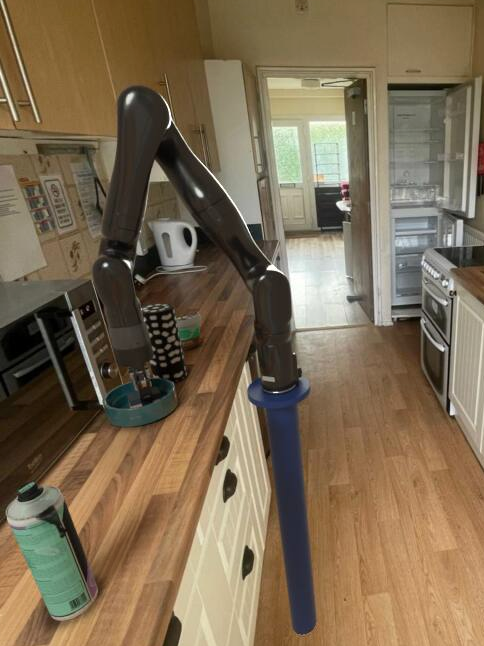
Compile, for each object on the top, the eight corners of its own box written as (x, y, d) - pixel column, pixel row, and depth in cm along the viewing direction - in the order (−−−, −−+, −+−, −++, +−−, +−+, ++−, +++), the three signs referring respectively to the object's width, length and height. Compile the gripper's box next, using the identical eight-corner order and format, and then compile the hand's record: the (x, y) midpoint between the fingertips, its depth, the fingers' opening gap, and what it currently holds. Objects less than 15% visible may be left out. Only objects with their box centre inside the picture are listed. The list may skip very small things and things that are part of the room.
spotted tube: (188, 368, 123) (176, 301, 115) (184, 381, 115) (170, 311, 107) (157, 371, 121) (142, 304, 113) (150, 385, 113) (133, 314, 105)
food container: (171, 355, 130) (164, 325, 126) (164, 349, 134) (158, 319, 131) (211, 344, 138) (206, 315, 134) (203, 339, 142) (198, 310, 138)
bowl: (170, 389, 111) (166, 372, 109) (184, 414, 100) (180, 396, 98) (104, 407, 103) (99, 389, 101) (112, 437, 92) (106, 417, 90)
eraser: (160, 400, 105) (156, 385, 104) (163, 406, 102) (160, 392, 101) (130, 408, 102) (126, 394, 100) (133, 415, 99) (129, 400, 97)
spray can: (107, 583, 61) (66, 470, 53) (80, 621, 56) (31, 503, 48) (69, 581, 61) (23, 469, 53) (39, 620, 56) (-16, 502, 48)
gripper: (155, 347, 92) (171, 415, 99) (144, 328, 103) (158, 390, 109) (116, 356, 88) (134, 426, 95) (108, 335, 99) (125, 399, 105)
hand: (147, 406), depth 102 cm, fingers closed on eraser, 4 cm apart
